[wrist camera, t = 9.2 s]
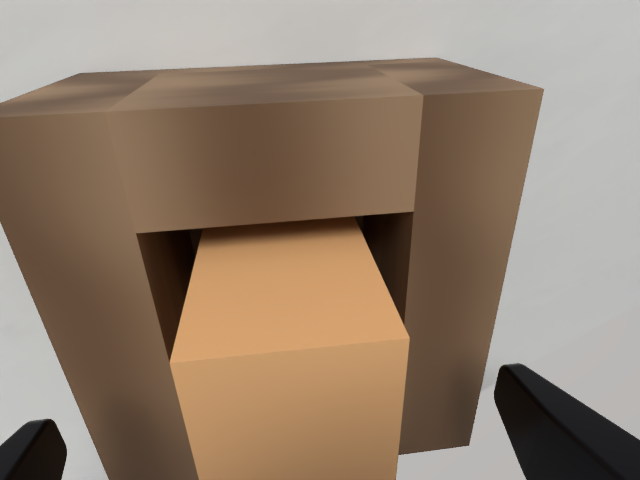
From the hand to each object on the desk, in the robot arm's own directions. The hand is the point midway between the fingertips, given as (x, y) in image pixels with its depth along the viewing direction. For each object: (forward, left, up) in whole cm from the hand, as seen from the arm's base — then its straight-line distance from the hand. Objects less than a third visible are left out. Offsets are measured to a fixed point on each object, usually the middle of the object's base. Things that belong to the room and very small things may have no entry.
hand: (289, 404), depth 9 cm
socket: (0, 0, -8) cm, 8 cm away
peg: (0, 0, -7) cm, 7 cm away
